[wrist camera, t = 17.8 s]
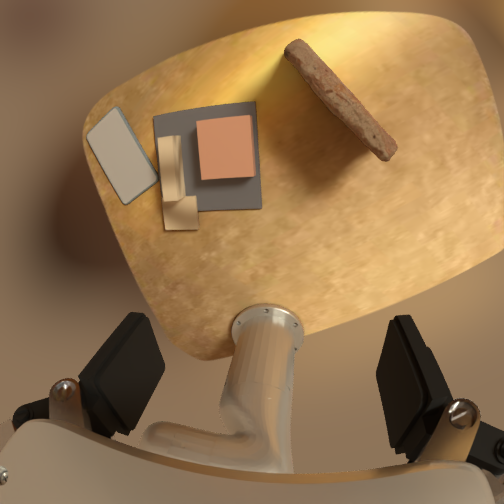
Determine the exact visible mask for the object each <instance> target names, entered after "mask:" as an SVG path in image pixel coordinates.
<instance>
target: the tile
mask: <svg viewBox="0 0 504 504" xmlns="http://www.w3.org/2000/svg"><path fill="white" fill-rule="evenodd" d="M196 123H197V136H198V147H199V158H200V169H201V179H202V180H206V179H220V178H235V177H254V176H255V175H256V166H255V151H254V137H253V122H252V116H251V115H244V116H234V117H224V118H216V119H208V120H201V121H196Z"/></svg>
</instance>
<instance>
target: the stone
mask: <svg viewBox="0 0 504 504" xmlns="http://www.w3.org/2000/svg"><path fill="white" fill-rule="evenodd" d="M284 55H285V58H286V59H287V60H288V61H290V62H291V63H292V64H293V66H294V67H295V68H296V69H297V70H298V71H299V73H300V74H301V76H302V77H303V78H304V80H305V81H306V82H307V83H308V84H309V85H310V87H311V89H312V90H313V92H314V93H315V94H316V95H317V96H318V97H319V98H320V99H321V101H322V102H323V103H324V104H325V105H326V106H327V107H328V109H329V110H330V111H331V112H332V114H334V115H335V116H337V117H338V118H340V119H341V120H342V121H343V122H344V123H345V124H346V126H347V127H348V128H349V129H350V130H351V131H352V132H353V133H354V134H355V135H356V136H357V137H358V138H359V139H360V140H361V142H362V143H363V144H364V145H365V146H367V147H368V148H369V149H370V150H371V151H372V152H373V153H374V154H375V155H376V156H377V157H378V158H379V159H380V160H381V161H389V160H390V158H391V157H392V156H393V155H394V153H395V152H396V151H397V148H398V147H397V144H396V142H395V140H394V139H393V138H392V137H391V136H390V135H389V134H388V133H387V132H386V131H385V130H384V129H383V128H382V127H381V126H380V125H379V124H378V122H377V121H376V120H375V119H374V118H373V117H372V115H371V114H370V113H369V112H368V111H367V110H366V109H365V108H364V106H363V105H362V104H361V102H360V101H359V100H358V99H357V98H356V97H355V96H354V94H353V93H352V92H351V91H350V90H349V89H348V88H347V87H346V86H345V85H344V84H343V83H342V82H341V80H340V79H339V78H338V77H337V76H336V75H335V74H334V72H333V71H332V70H331V69H330V68H329V67H328V66H327V65H326V64H325V63H324V62H323V61H322V60H321V59H320V58H319V56H318V55H317V54H316V53H315V52H314V51H313V50H312V49H311V47H310V46H309V45H308V44H307V43H305V42H304V41H303V40H301V39H298V40H297V39H296V40H294V41H292V42H291V43H290V44H288V45H287V46H286V48H285V50H284Z"/></svg>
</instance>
